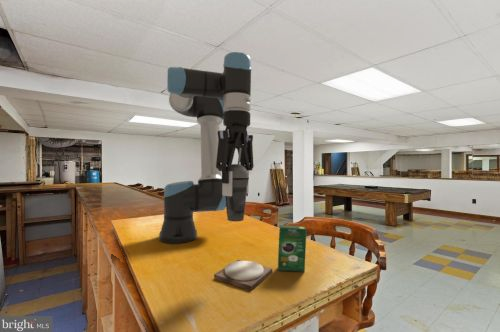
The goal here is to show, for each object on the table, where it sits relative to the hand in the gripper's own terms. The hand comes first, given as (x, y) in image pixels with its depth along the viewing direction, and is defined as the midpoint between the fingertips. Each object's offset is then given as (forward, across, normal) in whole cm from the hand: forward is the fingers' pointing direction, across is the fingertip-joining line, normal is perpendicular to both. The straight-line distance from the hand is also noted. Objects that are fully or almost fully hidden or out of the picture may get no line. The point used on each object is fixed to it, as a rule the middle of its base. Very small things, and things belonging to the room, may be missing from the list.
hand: (235, 194), depth 69 cm
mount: (+23, +2, -2) cm, 23 cm away
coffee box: (+24, +14, -11) cm, 29 cm away
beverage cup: (+7, 0, 0) cm, 7 cm away
